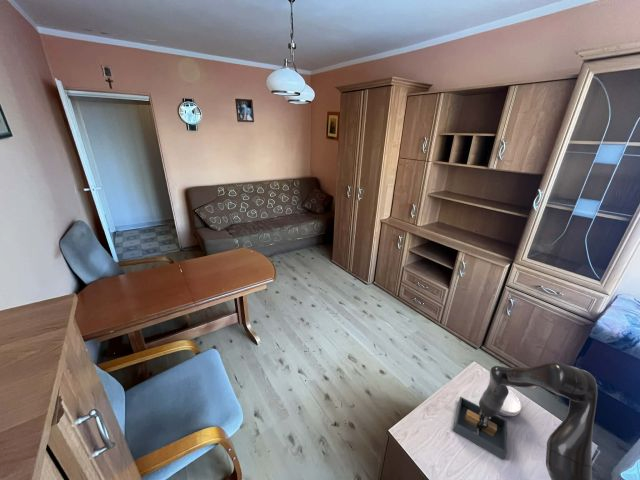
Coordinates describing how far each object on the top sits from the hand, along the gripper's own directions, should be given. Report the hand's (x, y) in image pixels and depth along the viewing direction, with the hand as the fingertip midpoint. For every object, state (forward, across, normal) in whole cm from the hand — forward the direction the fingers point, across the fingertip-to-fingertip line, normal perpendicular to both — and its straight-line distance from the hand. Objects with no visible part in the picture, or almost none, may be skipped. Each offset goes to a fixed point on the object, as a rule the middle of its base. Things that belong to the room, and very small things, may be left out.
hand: (479, 424), depth 122 cm
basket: (+2, -2, 0) cm, 2 cm away
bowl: (+2, +16, -8) cm, 18 cm away
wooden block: (+1, -2, 0) cm, 2 cm away
